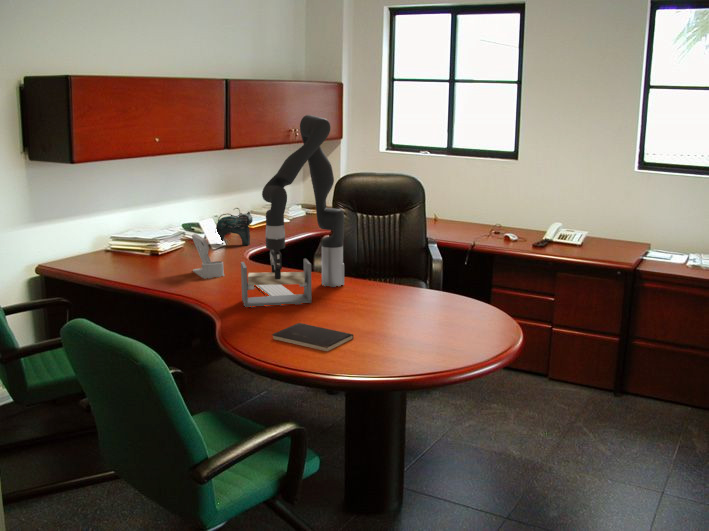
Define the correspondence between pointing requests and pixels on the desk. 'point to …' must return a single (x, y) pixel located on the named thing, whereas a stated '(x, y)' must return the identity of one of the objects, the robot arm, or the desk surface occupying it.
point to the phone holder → (206, 260)
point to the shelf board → (270, 279)
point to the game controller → (235, 226)
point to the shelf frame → (277, 299)
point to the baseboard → (275, 290)
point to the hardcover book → (312, 336)
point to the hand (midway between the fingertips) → (276, 276)
